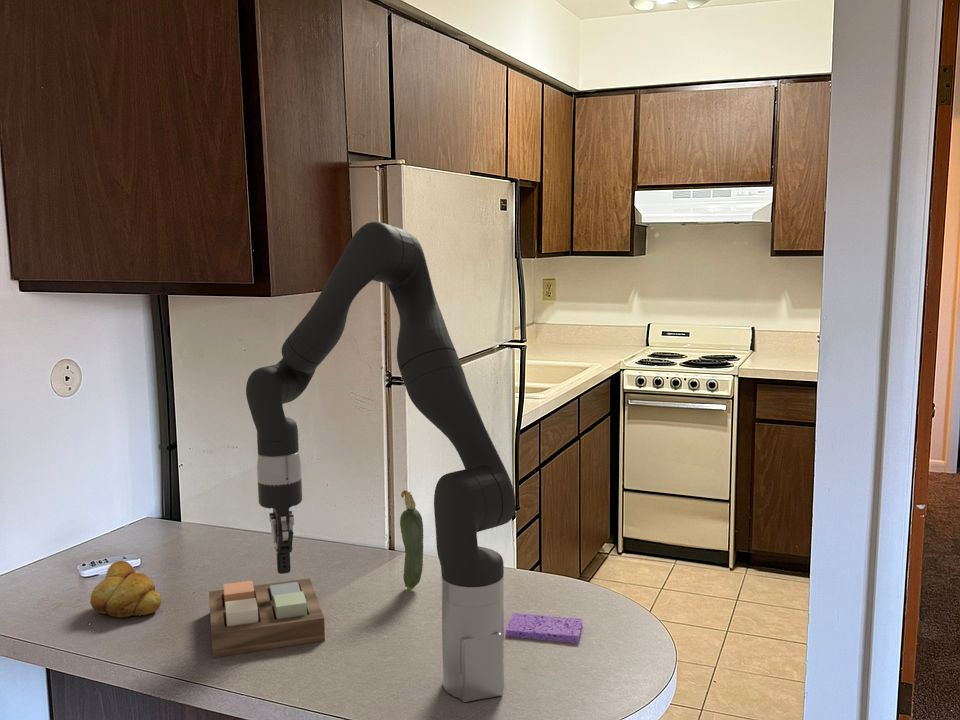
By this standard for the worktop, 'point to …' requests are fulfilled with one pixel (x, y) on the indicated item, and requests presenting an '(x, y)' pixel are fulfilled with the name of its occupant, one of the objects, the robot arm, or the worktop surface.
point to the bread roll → (125, 592)
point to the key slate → (283, 589)
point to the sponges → (544, 627)
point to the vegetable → (412, 541)
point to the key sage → (290, 605)
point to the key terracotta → (238, 591)
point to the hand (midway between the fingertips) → (283, 571)
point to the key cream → (241, 612)
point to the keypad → (265, 624)
